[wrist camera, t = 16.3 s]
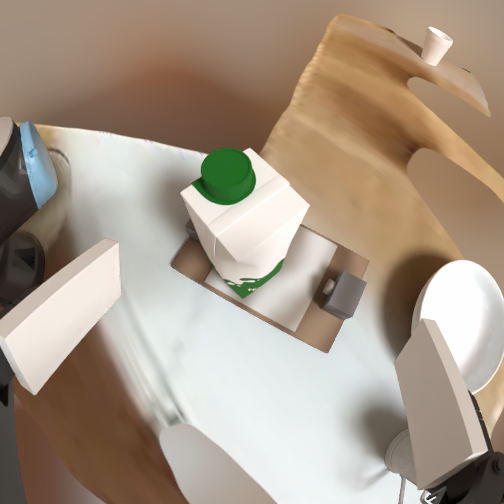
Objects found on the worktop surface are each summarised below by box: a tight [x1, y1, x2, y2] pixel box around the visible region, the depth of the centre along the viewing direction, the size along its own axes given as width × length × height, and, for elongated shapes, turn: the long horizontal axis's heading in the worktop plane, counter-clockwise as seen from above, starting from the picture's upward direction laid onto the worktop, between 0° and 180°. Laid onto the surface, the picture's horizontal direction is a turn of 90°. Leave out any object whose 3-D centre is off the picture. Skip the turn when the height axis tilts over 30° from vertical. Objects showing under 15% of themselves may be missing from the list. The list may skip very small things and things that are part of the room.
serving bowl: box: [411, 260, 504, 394], centre depth 34 cm, size 21×21×7 cm
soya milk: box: [181, 148, 310, 299], centre depth 30 cm, size 9×9×20 cm
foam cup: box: [421, 27, 453, 66], centre depth 60 cm, size 10×9×13 cm
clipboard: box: [171, 219, 369, 353], centre depth 39 cm, size 25×15×5 cm, turn 61°
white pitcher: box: [385, 428, 446, 504], centre depth 23 cm, size 9×14×15 cm, turn 152°
